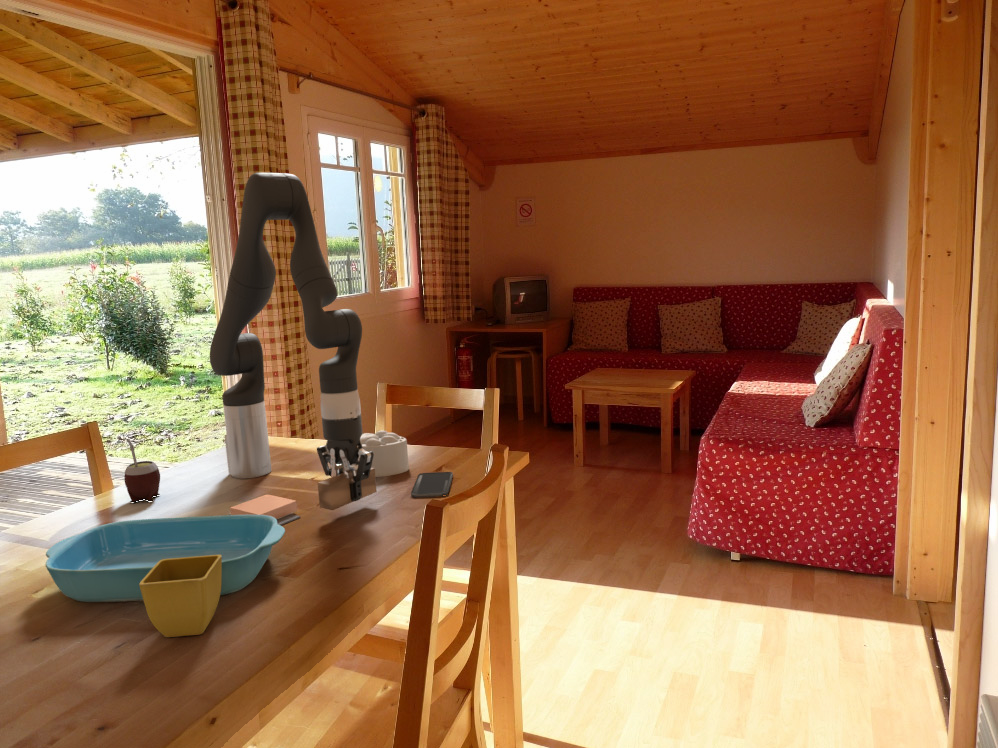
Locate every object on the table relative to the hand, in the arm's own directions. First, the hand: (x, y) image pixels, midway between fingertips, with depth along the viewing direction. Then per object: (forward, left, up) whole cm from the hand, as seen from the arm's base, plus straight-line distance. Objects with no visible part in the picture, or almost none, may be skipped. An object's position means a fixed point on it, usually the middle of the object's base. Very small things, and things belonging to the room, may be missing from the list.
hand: (348, 498), depth 153 cm
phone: (+4, +21, -4) cm, 22 cm away
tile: (-14, -5, -1) cm, 15 cm away
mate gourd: (-47, -15, -3) cm, 50 cm away
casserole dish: (-4, -36, -4) cm, 36 cm away
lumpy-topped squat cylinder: (-15, +25, -3) cm, 29 cm away
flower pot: (+14, -45, -3) cm, 47 cm away
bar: (0, 0, 0) cm, 0 cm away
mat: (-14, -11, -3) cm, 18 cm away
